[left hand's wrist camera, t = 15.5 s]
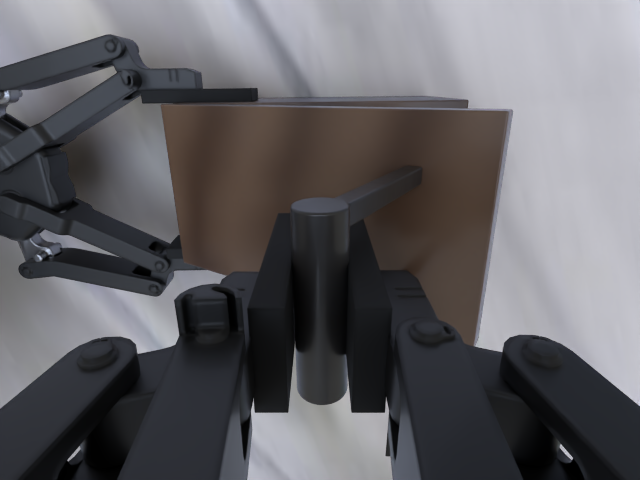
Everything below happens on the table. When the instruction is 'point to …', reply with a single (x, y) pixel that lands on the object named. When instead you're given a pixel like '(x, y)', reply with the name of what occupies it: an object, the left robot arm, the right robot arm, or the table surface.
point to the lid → (341, 206)
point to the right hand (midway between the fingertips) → (260, 175)
